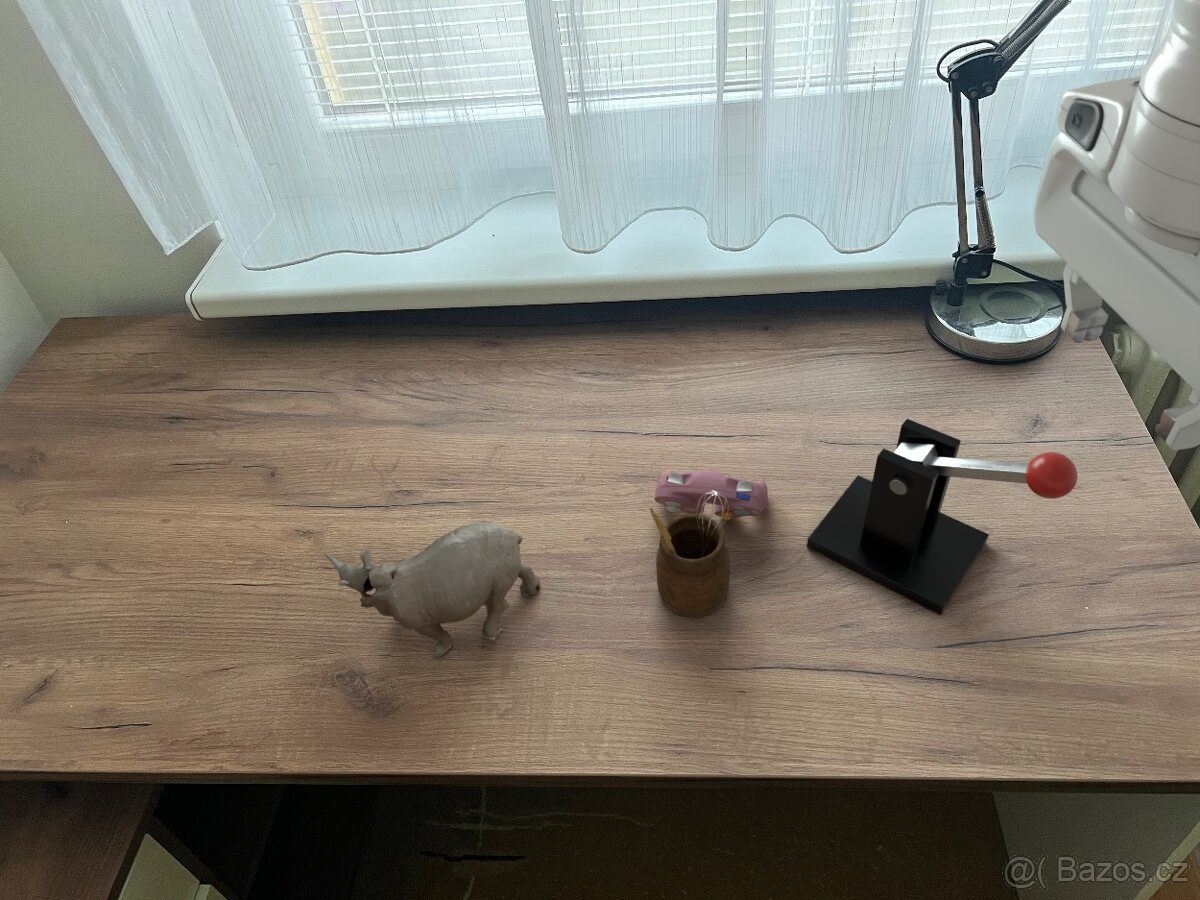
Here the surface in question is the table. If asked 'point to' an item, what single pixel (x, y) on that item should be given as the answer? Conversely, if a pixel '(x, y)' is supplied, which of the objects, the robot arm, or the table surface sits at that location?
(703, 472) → the pink toy car
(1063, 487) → the lever
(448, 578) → the rhinoceros figurine
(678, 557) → the utensil holder
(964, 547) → the bracket
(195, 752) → the table surface
